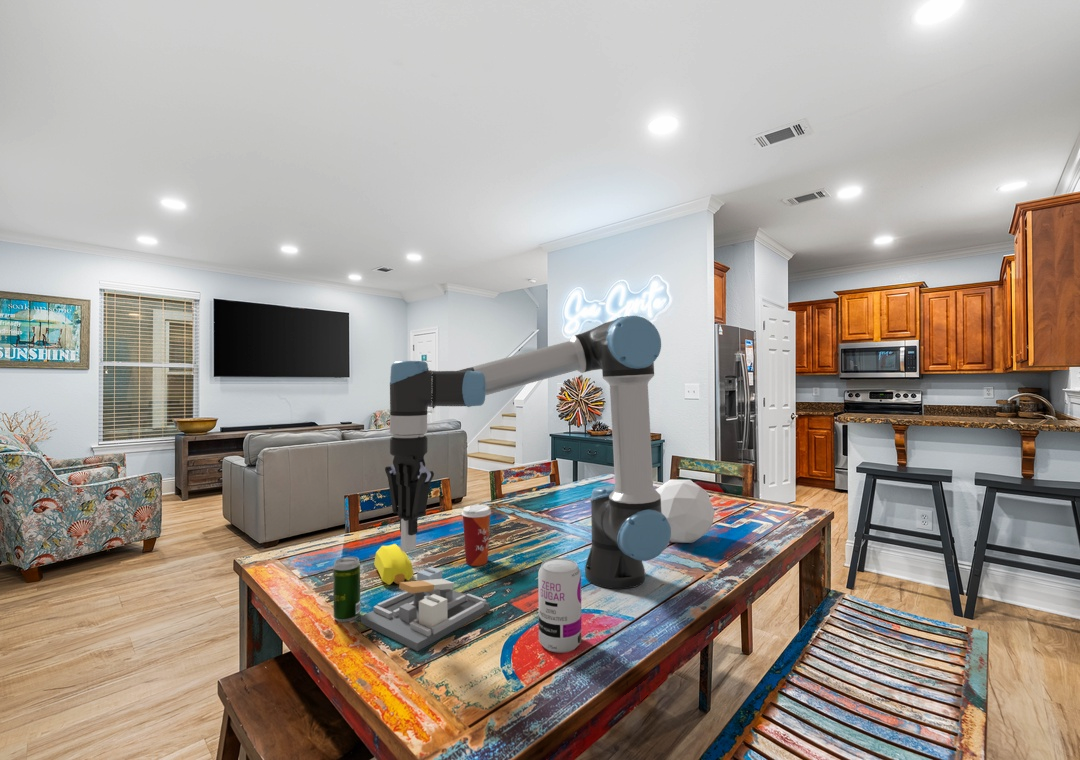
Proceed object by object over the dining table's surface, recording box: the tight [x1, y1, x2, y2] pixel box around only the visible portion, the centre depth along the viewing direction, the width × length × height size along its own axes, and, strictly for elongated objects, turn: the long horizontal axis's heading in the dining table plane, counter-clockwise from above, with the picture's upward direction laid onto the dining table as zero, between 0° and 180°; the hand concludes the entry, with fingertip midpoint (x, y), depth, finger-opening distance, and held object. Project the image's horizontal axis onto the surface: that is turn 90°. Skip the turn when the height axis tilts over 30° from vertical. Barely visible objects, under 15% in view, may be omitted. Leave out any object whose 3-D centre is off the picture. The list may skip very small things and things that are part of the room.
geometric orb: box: [655, 478, 715, 544], centre depth 152 cm, size 19×20×20 cm
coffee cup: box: [461, 504, 492, 567], centre depth 135 cm, size 8×8×15 cm
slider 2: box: [419, 594, 448, 629], centre depth 98 cm, size 4×4×5 cm
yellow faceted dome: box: [373, 543, 414, 586], centre depth 127 cm, size 18×7×8 cm
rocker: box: [398, 578, 455, 593], centre depth 104 cm, size 4×12×2 cm, turn 144°
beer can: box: [332, 556, 362, 623], centre depth 105 cm, size 5×5×12 cm
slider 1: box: [416, 566, 443, 595], centre depth 113 cm, size 4×4×5 cm
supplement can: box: [537, 557, 582, 654], centre depth 94 cm, size 8×8×15 cm
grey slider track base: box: [360, 589, 491, 652], centre depth 104 cm, size 18×20×6 cm
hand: (408, 549), depth 101 cm, fingers closed
